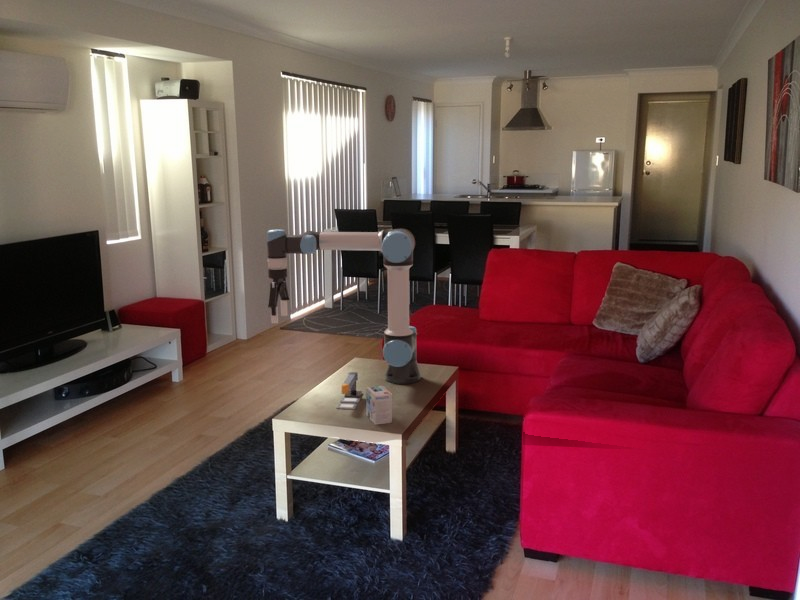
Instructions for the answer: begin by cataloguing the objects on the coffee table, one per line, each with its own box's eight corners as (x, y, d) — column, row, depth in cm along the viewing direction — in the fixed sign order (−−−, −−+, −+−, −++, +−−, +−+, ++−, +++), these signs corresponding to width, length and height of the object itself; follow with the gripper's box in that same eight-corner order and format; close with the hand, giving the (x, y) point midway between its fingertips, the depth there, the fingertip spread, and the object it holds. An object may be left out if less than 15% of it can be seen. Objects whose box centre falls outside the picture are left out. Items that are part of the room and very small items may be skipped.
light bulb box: (365, 415, 258) (365, 387, 256) (383, 412, 260) (382, 385, 258) (375, 425, 248) (374, 396, 246) (393, 422, 250) (392, 393, 248)
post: (362, 393, 282) (361, 378, 281) (359, 398, 276) (359, 382, 275) (347, 393, 283) (347, 377, 281) (344, 398, 277) (344, 382, 275)
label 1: (360, 399, 275) (360, 397, 275) (358, 403, 271) (358, 402, 270) (343, 398, 276) (343, 397, 276) (340, 402, 271) (340, 401, 271)
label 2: (357, 405, 269) (357, 403, 268) (354, 409, 264) (354, 408, 264) (339, 404, 269) (339, 403, 269) (336, 408, 265) (336, 407, 264)
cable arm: (358, 379, 280) (358, 371, 279) (349, 394, 261) (349, 386, 261) (349, 378, 280) (349, 371, 279) (339, 394, 262) (339, 385, 261)
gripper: (277, 263, 296) (279, 312, 301) (258, 272, 272) (261, 326, 276) (294, 263, 296) (296, 313, 300) (277, 273, 271) (279, 326, 275)
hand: (279, 319), depth 288 cm, fingers open, 13 cm apart
